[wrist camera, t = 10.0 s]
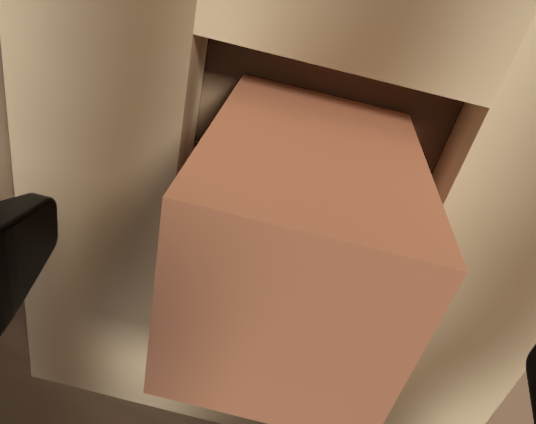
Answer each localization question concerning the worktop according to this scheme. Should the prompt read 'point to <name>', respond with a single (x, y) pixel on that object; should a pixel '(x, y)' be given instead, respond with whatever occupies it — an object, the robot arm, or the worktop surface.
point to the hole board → (181, 146)
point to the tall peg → (299, 261)
